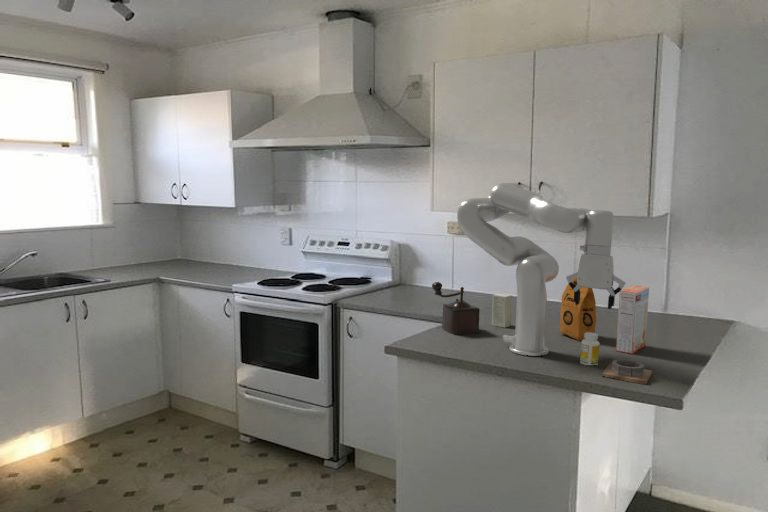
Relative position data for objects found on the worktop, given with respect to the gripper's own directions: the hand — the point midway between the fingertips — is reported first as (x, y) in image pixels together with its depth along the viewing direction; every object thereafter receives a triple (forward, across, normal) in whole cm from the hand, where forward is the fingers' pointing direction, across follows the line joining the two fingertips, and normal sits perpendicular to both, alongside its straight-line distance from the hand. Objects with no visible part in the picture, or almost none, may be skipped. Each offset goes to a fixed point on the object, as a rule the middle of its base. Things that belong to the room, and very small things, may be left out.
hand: (593, 306), depth 190 cm
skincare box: (+19, -40, +32) cm, 54 cm away
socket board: (+18, +12, -5) cm, 22 cm away
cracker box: (+18, +8, +27) cm, 33 cm away
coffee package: (+19, -11, +32) cm, 38 cm away
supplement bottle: (+18, 0, 0) cm, 19 cm away
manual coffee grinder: (+19, -51, +14) cm, 56 cm away
